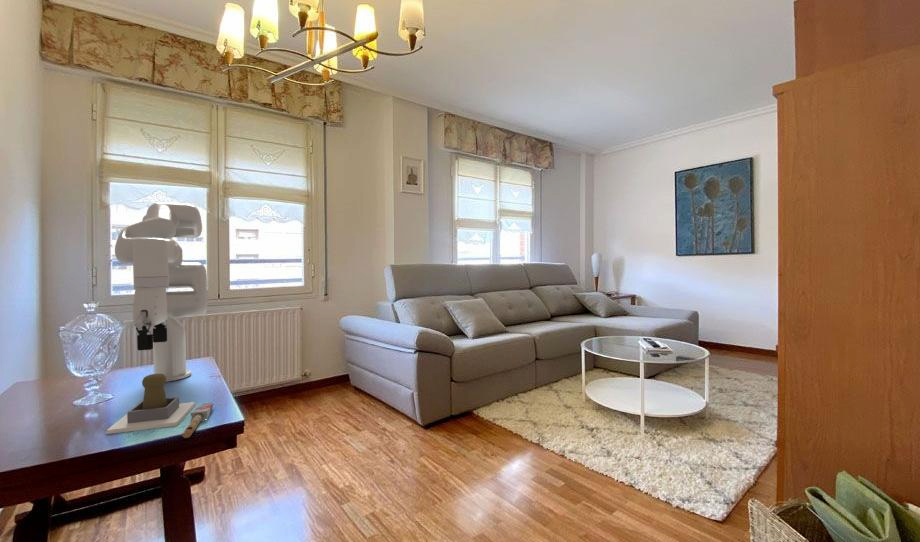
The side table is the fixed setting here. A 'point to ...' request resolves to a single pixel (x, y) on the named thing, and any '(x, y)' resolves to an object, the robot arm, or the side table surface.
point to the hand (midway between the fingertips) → (153, 345)
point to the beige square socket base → (152, 417)
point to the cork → (154, 391)
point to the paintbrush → (198, 418)
